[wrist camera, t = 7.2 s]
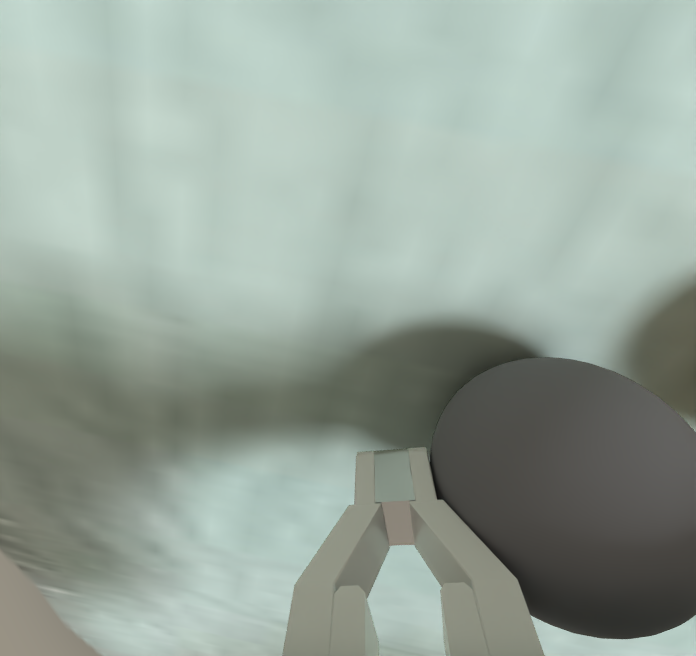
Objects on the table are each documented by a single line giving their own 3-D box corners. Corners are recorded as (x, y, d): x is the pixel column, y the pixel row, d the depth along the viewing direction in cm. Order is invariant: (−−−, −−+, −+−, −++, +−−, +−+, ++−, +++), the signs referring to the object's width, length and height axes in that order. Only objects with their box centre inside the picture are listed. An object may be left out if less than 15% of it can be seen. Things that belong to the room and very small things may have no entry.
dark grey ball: (560, 421, 13) (804, 576, 7) (433, 513, 12) (593, 758, 7) (524, 290, 10) (858, 378, 5) (361, 400, 9) (523, 646, 4)
